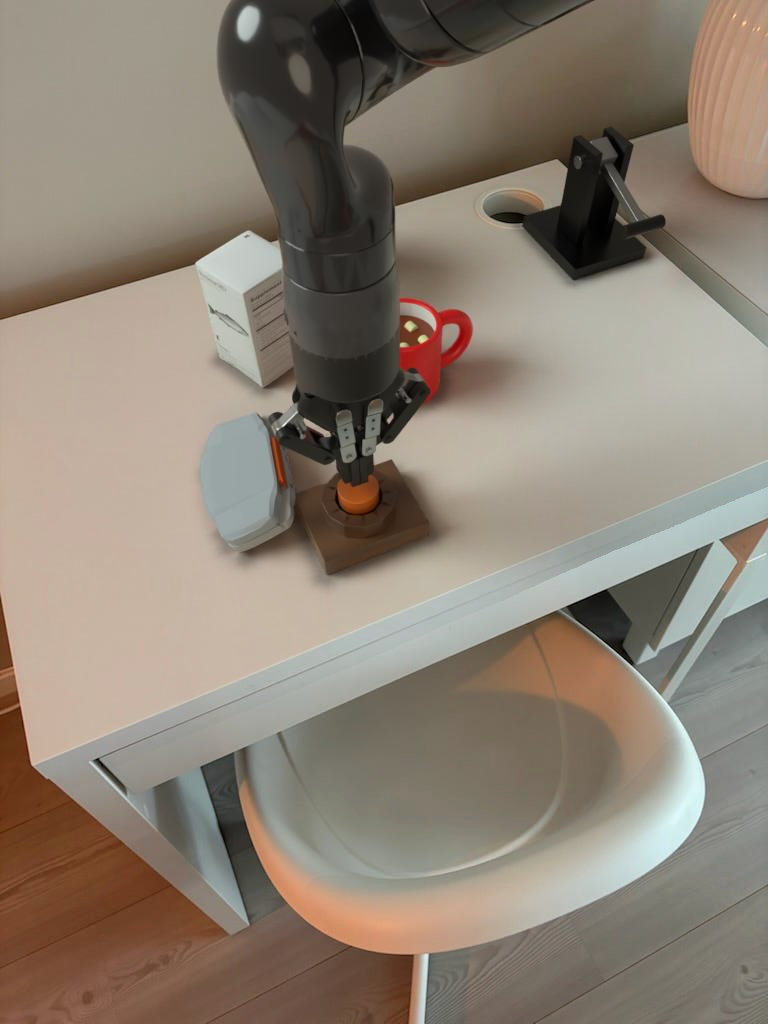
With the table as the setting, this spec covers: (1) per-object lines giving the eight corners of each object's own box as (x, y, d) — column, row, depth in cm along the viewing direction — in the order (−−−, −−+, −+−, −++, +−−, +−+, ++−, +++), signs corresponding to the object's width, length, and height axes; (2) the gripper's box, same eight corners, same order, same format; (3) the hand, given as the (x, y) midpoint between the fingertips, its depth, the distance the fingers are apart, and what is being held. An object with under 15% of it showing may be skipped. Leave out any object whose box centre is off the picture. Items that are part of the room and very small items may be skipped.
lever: (659, 233, 83) (669, 218, 81) (621, 245, 82) (630, 230, 80) (609, 149, 86) (617, 133, 84) (571, 160, 85) (579, 143, 83)
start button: (385, 506, 66) (385, 494, 64) (348, 520, 65) (346, 509, 64) (369, 477, 68) (368, 465, 66) (332, 490, 67) (331, 478, 65)
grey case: (222, 562, 67) (304, 532, 66) (206, 547, 65) (290, 515, 64) (208, 444, 76) (280, 415, 75) (193, 426, 73) (268, 396, 72)
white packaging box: (218, 359, 82) (191, 260, 72) (268, 325, 85) (249, 226, 75) (262, 391, 79) (241, 293, 69) (313, 354, 82) (300, 256, 72)
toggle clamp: (643, 257, 91) (674, 155, 81) (572, 280, 89) (595, 178, 78) (589, 206, 97) (611, 106, 87) (521, 226, 95) (536, 125, 85)
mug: (486, 378, 80) (494, 319, 73) (386, 418, 77) (385, 361, 70) (449, 334, 84) (453, 275, 77) (353, 370, 81) (348, 312, 74)
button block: (428, 535, 68) (429, 509, 65) (326, 575, 66) (322, 551, 63) (392, 473, 72) (391, 446, 69) (295, 508, 70) (289, 482, 67)
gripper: (266, 382, 46) (298, 538, 60) (458, 321, 49) (445, 483, 63) (230, 310, 50) (268, 471, 64) (409, 257, 53) (408, 423, 67)
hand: (356, 477), depth 64 cm, fingers closed
